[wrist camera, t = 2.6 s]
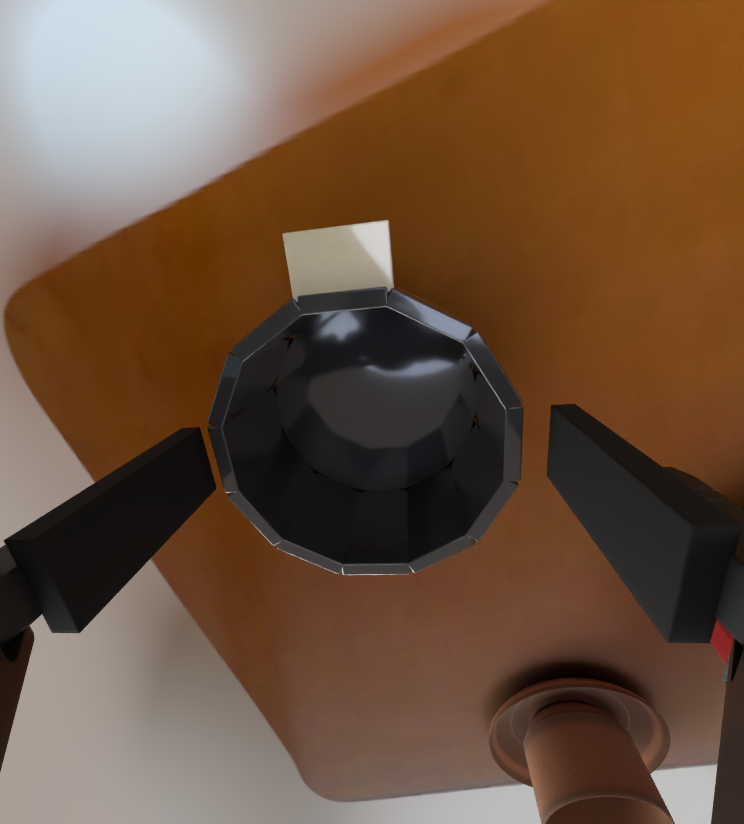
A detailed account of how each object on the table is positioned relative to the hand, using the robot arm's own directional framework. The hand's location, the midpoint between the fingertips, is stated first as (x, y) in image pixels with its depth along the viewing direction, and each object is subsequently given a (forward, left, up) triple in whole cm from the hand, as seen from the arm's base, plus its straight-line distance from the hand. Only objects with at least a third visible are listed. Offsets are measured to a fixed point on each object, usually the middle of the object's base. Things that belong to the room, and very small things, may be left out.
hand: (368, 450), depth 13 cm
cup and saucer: (+28, +7, -7) cm, 29 cm away
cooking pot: (0, 0, -5) cm, 5 cm away
